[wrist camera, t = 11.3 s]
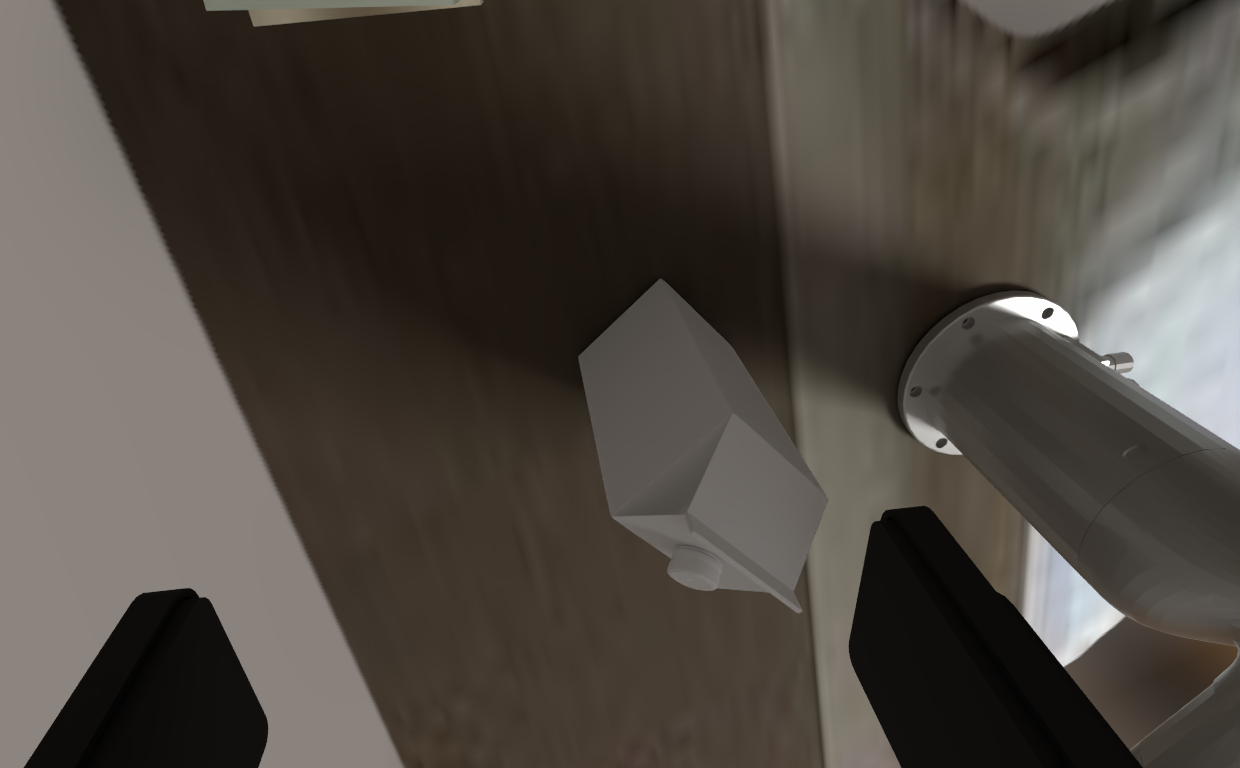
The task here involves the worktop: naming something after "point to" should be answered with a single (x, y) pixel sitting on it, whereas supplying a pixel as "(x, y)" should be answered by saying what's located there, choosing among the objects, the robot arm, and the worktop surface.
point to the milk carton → (697, 452)
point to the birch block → (337, 12)
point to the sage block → (315, 4)
